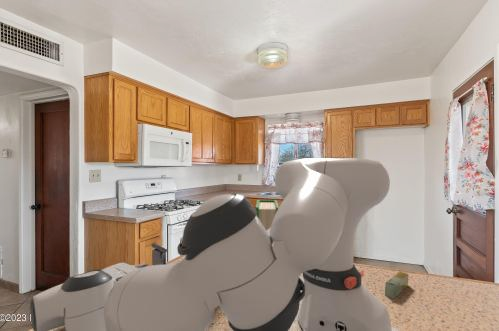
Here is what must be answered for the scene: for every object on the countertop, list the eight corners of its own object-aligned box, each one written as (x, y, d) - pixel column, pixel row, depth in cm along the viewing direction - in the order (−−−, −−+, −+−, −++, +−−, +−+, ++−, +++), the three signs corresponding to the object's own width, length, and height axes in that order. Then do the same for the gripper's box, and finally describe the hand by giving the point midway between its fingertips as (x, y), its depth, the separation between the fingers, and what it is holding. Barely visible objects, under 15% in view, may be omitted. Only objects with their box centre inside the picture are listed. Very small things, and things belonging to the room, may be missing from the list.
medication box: (394, 299, 75) (395, 285, 74) (384, 295, 77) (384, 282, 76) (408, 286, 83) (408, 273, 83) (398, 283, 85) (399, 270, 85)
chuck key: (172, 292, 78) (172, 247, 78) (159, 297, 76) (159, 250, 76) (159, 283, 84) (158, 241, 84) (146, 287, 82) (146, 244, 82)
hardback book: (279, 283, 84) (279, 207, 84) (255, 283, 85) (255, 207, 85) (276, 262, 102) (276, 200, 102) (257, 262, 102) (257, 200, 102)
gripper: (90, 288, 74) (136, 272, 85) (130, 312, 62) (178, 289, 74) (90, 266, 74) (136, 252, 85) (130, 285, 62) (178, 266, 74)
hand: (156, 269), depth 79 cm, fingers open, 8 cm apart
